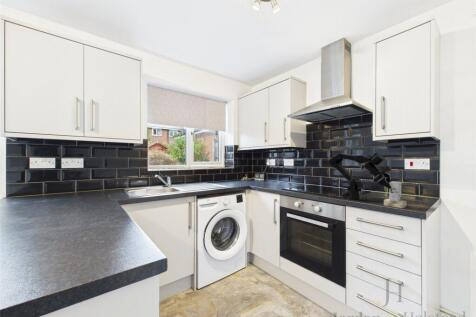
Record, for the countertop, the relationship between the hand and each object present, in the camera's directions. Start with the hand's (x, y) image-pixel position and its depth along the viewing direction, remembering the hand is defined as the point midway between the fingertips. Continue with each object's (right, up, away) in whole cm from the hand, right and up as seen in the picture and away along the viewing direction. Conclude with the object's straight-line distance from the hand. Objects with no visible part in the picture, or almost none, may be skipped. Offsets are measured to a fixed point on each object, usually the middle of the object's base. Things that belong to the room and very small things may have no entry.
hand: (392, 187), depth 133 cm
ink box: (+1, -8, -1) cm, 8 cm away
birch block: (0, -12, -1) cm, 12 cm away
